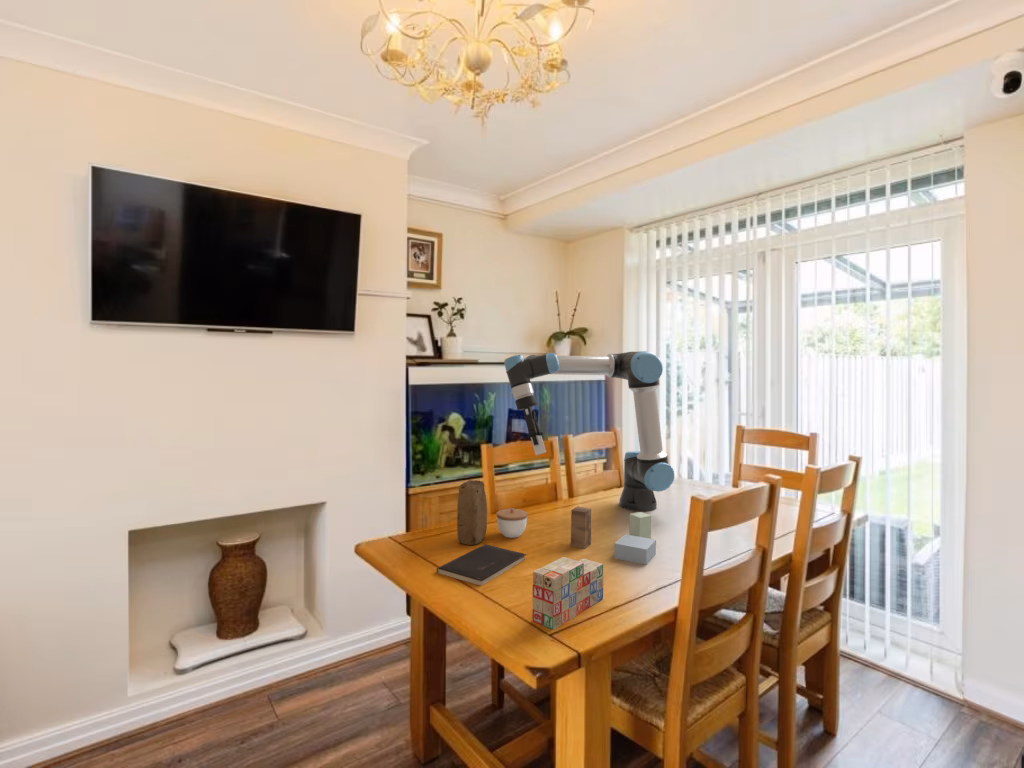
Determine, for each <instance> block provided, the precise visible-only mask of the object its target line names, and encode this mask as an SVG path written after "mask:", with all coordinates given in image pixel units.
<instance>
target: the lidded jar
mask: <svg viewBox="0 0 1024 768" xmlns="http://www.w3.org/2000/svg"><path fill="white" fill-rule="evenodd" d="M495 514H496V524H497V528H498V531H499V532H500V533H501V534H502V536H503V537H504V538H509V539H510V538H511V539H513V538H514V539H515V538H519V537H520V536H521V535H522V534H523V533H524V531H525V530H526V527H527V522H528V512H527V511H525V510H523V509H519V508H514V507H510V508H503V509H500V510H498V511H497V512H496V513H495Z"/></svg>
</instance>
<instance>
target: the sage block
mask: <svg viewBox="0 0 1024 768" xmlns="http://www.w3.org/2000/svg"><path fill="white" fill-rule="evenodd" d="M628 528H629V530H628V531H629V532H628V533H629V534H628V535H632V536H638V537H643V538H649V539H652V538H651V537H652V534H651V533H652V515H651V514H648V513H644V512H643V511H637V512H633V513H629V527H628Z"/></svg>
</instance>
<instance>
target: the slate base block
mask: <svg viewBox="0 0 1024 768" xmlns="http://www.w3.org/2000/svg"><path fill="white" fill-rule="evenodd" d="M656 549H657V539H653V538H651V539H649V538H643V537H638V536H632V535H629V534H626V533H625V534H624V535H623V536H622V537H620V538H619V539H618V540H617V541H616V542H614V559H615V560H616V559H617V560H620V561H625V562H629V563H635V564H640V565H644V566H647V565H648V564H649V563H650V562H651V561H652V559H653V558H654V557H656V554H657V553H656V552H657V551H656Z"/></svg>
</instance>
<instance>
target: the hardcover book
mask: <svg viewBox="0 0 1024 768" xmlns="http://www.w3.org/2000/svg"><path fill="white" fill-rule="evenodd" d="M526 556H527V554H526V553H522V552H520V551H514V550H511V549H510V550H509V549H508V548H507V549H506V548H502V547H498V546H494V545H489V544H483V545H480V546H479V547H476V548H475V549H473V550H470V551H468V552H467V553H464V554H463V555H460V556H458V557H457V558H455V559H451V560H450V561H448V562H447V563H444V564H442V565H440V566H438V567H437V568H436V574H439V575H443V576H446V577H451V578H454V579H457V580H460V581H464V582H467V583H469V584H473V585H477V586H479V587H481V586H484V585H485V584H486V583H488V582H490V581H492V580H494V579H495V578H497V577H498V576H500V575H502V574H503V573H505V572H506V571H508V570H510V569H511V568H513V567H515V566H516V565H518V564H520V563H521V562H524V561H525V560H526V559H525V557H526Z"/></svg>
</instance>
